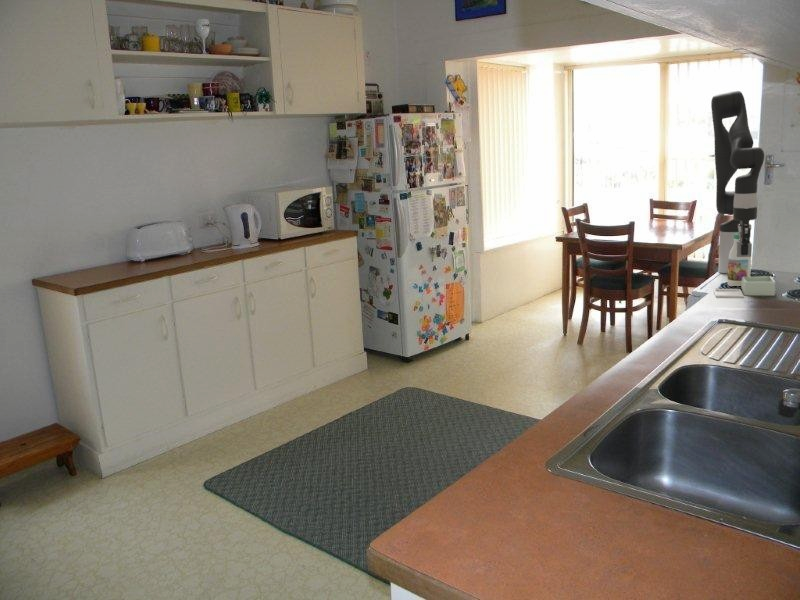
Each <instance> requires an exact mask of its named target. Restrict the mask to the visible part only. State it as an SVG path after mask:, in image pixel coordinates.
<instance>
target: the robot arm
mask: <svg viewBox="0 0 800 600" xmlns="http://www.w3.org/2000/svg"><path fill="white" fill-rule="evenodd" d="M711 115H712V126H713V132H714V133H713V134H714V163H715V164H714V165H715V176H716V191H715V192H716V197H715V199H716V200H715V203H716V204H715V205H716V206H715V207H716V211H717V213H718V214H720V215H732V218H733V219H730V220H728V221H724V222H723V223H722V222H721V223H720V225H719V233H718V234H719V237H718V238H719V241H718V242H719V243H718V270H717V271H718V273H721V274H728V259H729V253H730V251H731V249H732V247H733V244H734V234H737V233H738V236H739V242H741V255H748V245H749V243H750V242H751V240H750V239H751V231H752V224H751V223H750V221H754V220H757V217H758V199H759V198H758V181H759V177H760V176H759V175H760V173H761V170H762V167H763V164H764V162H765V161H764V160H765V152H764V150H763V148H761V147H753V146H754V138H753V136H752V133H751V130H750V126H749V120H748V114H747V106H746V100H745V97H744V95H743V93H742V91H740V90H734V91H728V92H724V93H719V94H715V95H713V97H712V98H711ZM734 117H735V120H734V121H733V122H732V124H731V126H730V127H729V130H727V128H726V126H725V124H724V123H723V120H724V119H729V118H734ZM743 169H744V170H746V169H747V170H748V169H750V170H749V172H747V173H746V174H743V175H739V176H737V177H736V178H735V180H734V191H731V190H729V191H726V188H727V186H728V184H729V182H730V180H731V179H732V178H733V176H735V174H736V172H737V171H738V170H743Z"/></svg>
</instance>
